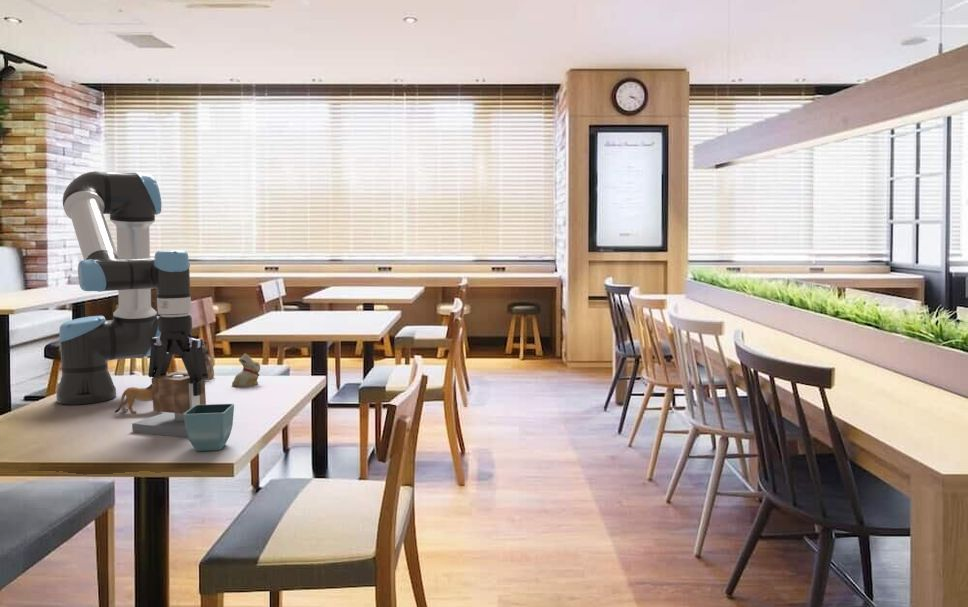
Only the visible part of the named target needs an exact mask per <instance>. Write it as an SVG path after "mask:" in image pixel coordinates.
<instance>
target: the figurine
mask: <svg viewBox="0 0 968 607" xmlns="http://www.w3.org/2000/svg"><path fill="white" fill-rule="evenodd" d="M207 343H208V341H207V340H204V341H203V345H202V349H203V354H204V359H205V364H206V368H207V373H208V378H207V379H205V381H208V380H212V379H213V378H214V377H215V371H214V370H215V369H214V365H213V361H212V358H211V357H210V350H209V348H208V347H207Z"/></svg>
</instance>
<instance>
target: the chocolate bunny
mask: <svg viewBox="0 0 968 607" xmlns="http://www.w3.org/2000/svg"><path fill="white" fill-rule="evenodd" d="M238 361H239V363H240V364H241V365H242V366H243V367H242V371H240V372H238V373H237V374H236V375H235V377H234V379H233V381H232V382H231V386H232V387H239V388H240V387H251V386H256V385H258V384H259V382H258V378H259V376H260V374H259V372H261V371H260V370H261V365H260V363H259V362H258V361H255V360H254V359H252V358H251V357H250V355H249V354H247V353H244V354H243V355H242V356H241V357H239V358H238Z"/></svg>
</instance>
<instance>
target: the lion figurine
mask: <svg viewBox="0 0 968 607" xmlns="http://www.w3.org/2000/svg"><path fill="white" fill-rule="evenodd" d="M125 397H126V399H125ZM124 399H125V400H124ZM135 400H137V401H140V402H145V403H146V402H153V396H152V383H151V384H150V385H149V386H147V387H142V388H141V387H140V388H139V387H133V386H132V387H131V386H130V387H128V388H126V389H125V390H124V391H123V392H122V395H121V398H120V403H119V405H118V408H116V409H115V410H114V413H119V411H120V410H121V411H122V412H124V413H125V412H128V411H129V412H130V413H131V415H133V414H137V411H136V410H133V405H134V402H135ZM127 405H128V406H127ZM126 407H127V408H126ZM155 412H156V413H159V412H158V411H155Z"/></svg>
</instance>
